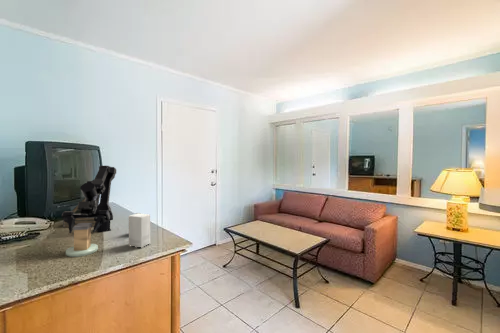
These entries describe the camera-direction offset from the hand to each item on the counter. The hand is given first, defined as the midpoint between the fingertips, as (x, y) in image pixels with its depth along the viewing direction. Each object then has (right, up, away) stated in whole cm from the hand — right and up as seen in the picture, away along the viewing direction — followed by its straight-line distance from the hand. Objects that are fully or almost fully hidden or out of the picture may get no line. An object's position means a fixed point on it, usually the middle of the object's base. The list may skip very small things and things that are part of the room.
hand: (82, 232), depth 106 cm
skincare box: (+21, -10, +11) cm, 26 cm away
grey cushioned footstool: (0, -8, +1) cm, 8 cm away
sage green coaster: (-1, -9, +1) cm, 9 cm away
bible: (-31, -8, +49) cm, 59 cm away
